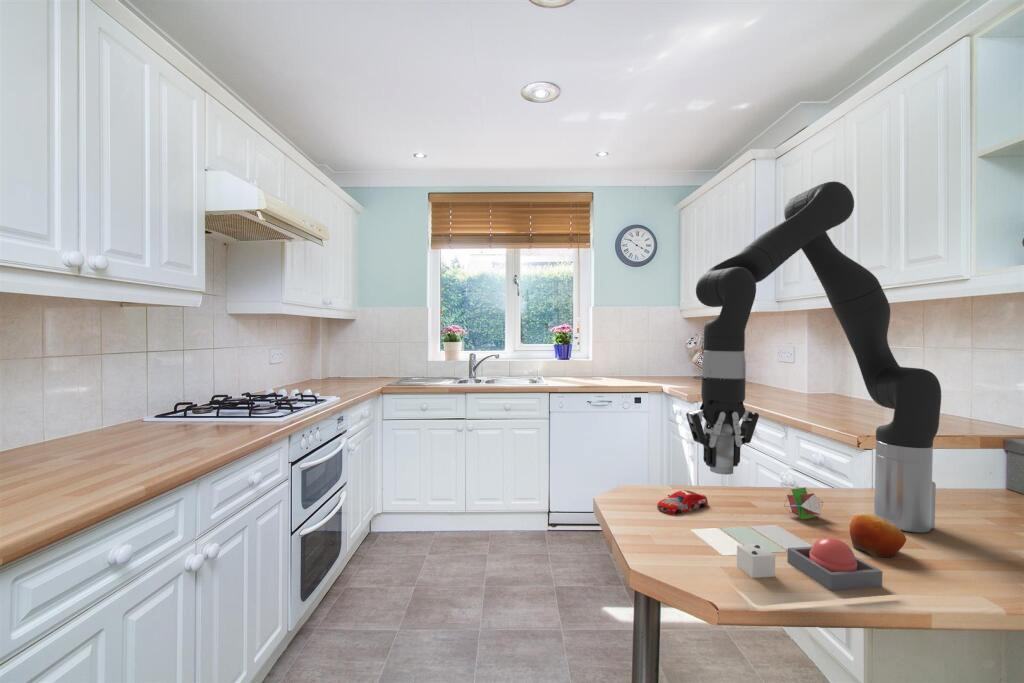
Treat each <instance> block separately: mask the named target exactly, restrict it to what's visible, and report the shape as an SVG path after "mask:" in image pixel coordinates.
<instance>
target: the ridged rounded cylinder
mask: <svg viewBox="0 0 1024 683" xmlns="http://www.w3.org/2000/svg"><path fill="white" fill-rule="evenodd" d="M712 430H713V428H712ZM732 433H733V429H732V427H731V426H730V425H729V424H723V425H722V427H721V431H720V435H719V436H718V437H717V440H716V444H715V446H714V447H715V448H716V466H715V467H709V471H710V472H712V473H714V474H719V475H733V474H734V467H733V459H734V435H732Z"/></svg>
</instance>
